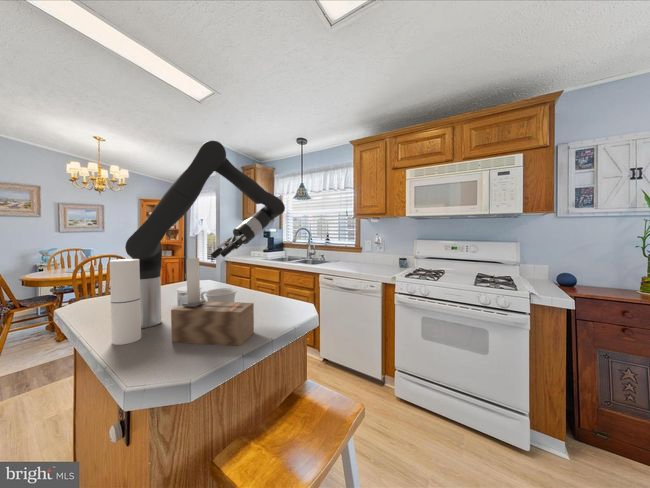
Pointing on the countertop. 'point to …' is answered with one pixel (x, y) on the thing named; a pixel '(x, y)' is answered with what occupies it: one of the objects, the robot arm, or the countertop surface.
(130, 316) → the cylindrical container
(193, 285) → the lever
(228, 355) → the countertop surface
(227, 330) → the brown rectangular block
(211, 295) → the teacup
